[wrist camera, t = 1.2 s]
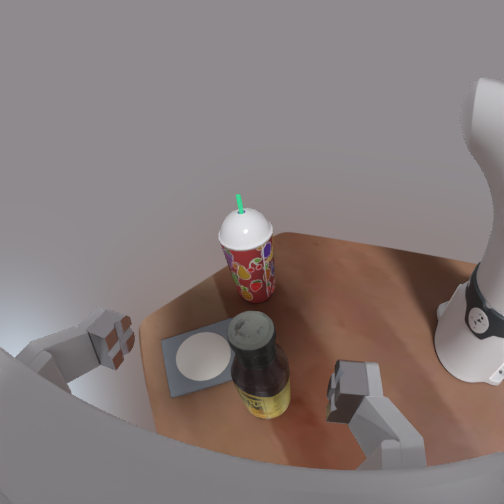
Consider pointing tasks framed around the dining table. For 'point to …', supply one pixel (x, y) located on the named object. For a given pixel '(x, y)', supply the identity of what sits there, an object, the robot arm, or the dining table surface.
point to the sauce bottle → (259, 365)
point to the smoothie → (249, 252)
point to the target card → (198, 359)
